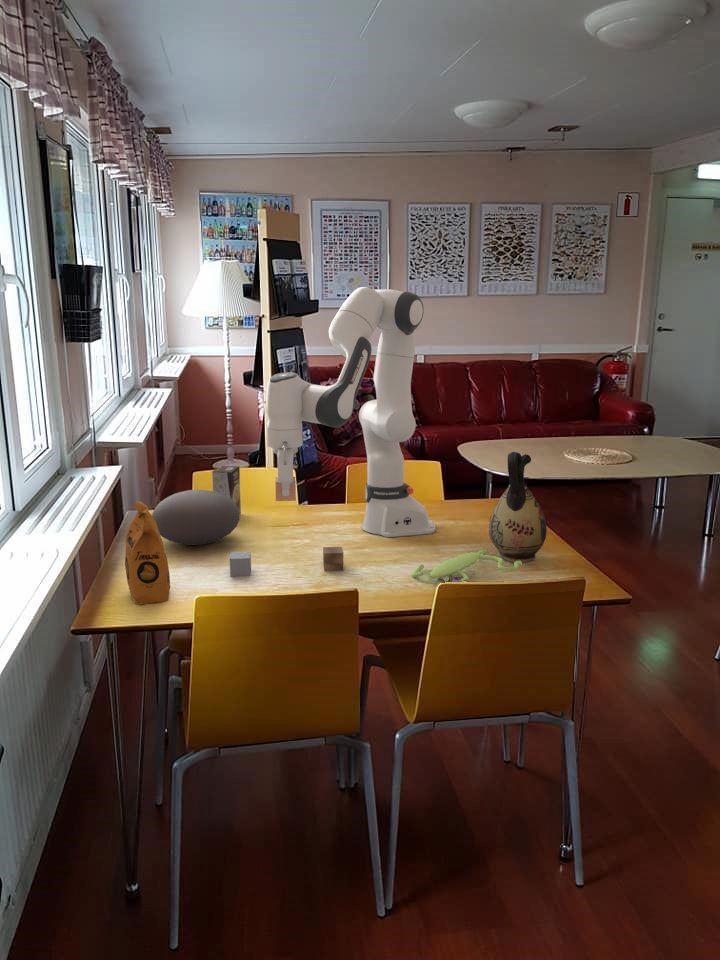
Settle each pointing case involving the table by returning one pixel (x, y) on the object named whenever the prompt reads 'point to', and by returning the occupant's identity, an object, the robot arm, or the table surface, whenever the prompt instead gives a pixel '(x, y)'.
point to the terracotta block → (279, 491)
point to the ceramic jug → (517, 516)
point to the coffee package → (146, 559)
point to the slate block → (240, 564)
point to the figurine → (461, 566)
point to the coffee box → (228, 483)
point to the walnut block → (333, 558)
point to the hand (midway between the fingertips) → (285, 492)
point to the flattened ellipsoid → (196, 517)
